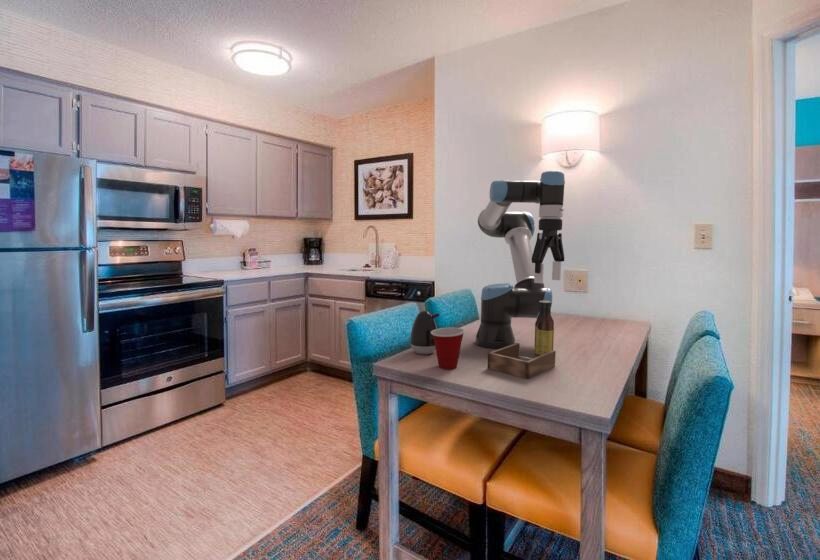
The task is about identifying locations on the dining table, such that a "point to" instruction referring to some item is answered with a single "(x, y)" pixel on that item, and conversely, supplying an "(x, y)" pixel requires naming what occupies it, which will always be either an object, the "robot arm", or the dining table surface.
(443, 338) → the plastic cup
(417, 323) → the pump dispenser
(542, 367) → the frame
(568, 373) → the dining table surface
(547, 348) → the sauce bottle
